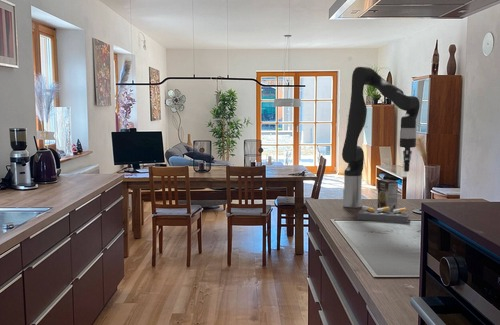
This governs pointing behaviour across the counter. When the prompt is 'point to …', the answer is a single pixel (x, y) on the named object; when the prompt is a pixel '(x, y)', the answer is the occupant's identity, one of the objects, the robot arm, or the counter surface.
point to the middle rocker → (383, 209)
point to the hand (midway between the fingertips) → (406, 170)
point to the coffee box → (387, 194)
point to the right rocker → (399, 210)
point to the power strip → (383, 216)
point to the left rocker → (368, 208)
